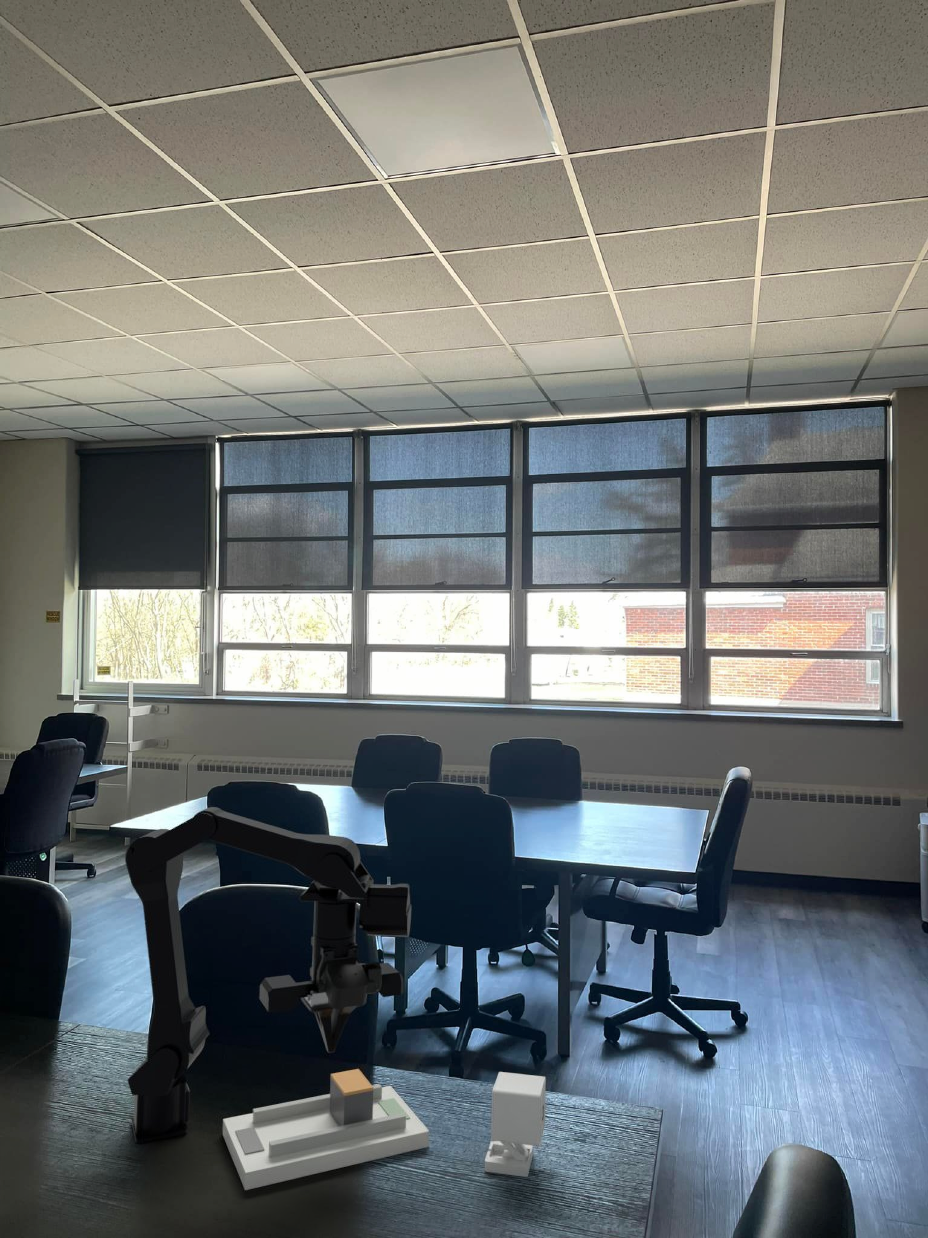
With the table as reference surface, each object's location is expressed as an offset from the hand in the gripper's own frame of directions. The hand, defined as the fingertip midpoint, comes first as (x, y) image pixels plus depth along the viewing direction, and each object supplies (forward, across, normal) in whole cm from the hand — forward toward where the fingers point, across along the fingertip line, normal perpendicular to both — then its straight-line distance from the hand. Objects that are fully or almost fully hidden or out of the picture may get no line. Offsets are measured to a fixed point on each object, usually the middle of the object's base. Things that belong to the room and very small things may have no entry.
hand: (330, 1051), depth 119 cm
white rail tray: (+11, -1, -1) cm, 11 cm away
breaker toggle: (+9, +3, -1) cm, 9 cm away
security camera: (+11, +20, -16) cm, 28 cm away
